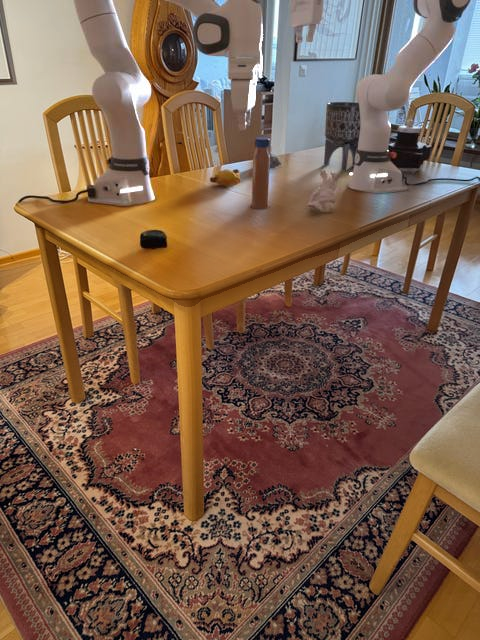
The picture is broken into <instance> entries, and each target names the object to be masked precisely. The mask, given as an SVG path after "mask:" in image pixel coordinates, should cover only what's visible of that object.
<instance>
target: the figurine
mask: <svg viewBox="0 0 480 640" xmlns="http://www.w3.org/2000/svg"><path fill="white" fill-rule="evenodd" d="M319 175H320V178H321V179H322V180H323V181H322V182H323V183H322V186H319V187H316V188H315V189H314V190H313V192H312V194H311V195H310V199H309V202H307V204H306V206H305V207H306V209H310V210H311V211H312V210H316V211H320V212H321V213H331V212H332V211H331V208H332V206H333V205H332V204H334V203H336V200H337V193H336V190H337V179H338V177H337V176H338V175H336V173H335V172H334V171H333V170H332V169H330V175H331V178H328V172H327V171H326V170H325V169H323V168H321V170H320V173H319Z"/></svg>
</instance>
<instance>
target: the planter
mask: <svg viewBox="0 0 480 640" xmlns="http://www.w3.org/2000/svg"><path fill="white" fill-rule="evenodd" d="M324 125H325V126H324V139H325V144H324V156H323V157H324V158H323V165H325V166H328V165H330V163H331V158H332V156H333V154H334V153H335V151H336V150H337V149H340V148H341V150H342V153H341V166H340V170H341V172H345V171H347V167H348V166H347V165H348V159H349V152H350V154H351V157H352V158H351V159H352V160H351V161H352V166H353V167H354V166H355V155H356V149H357V148H358V142H359V135H360V109H359V102H353V101H333V102H327V103H326V109H325V124H324Z"/></svg>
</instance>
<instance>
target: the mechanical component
mask: <svg viewBox="0 0 480 640" xmlns="http://www.w3.org/2000/svg"><path fill="white" fill-rule="evenodd" d="M414 124H415V119H407V121H406V125H399V126H398V127H397V133H396V139H395V142H393V143H392V142H391V143H389V145H388V151H390V152H395V154H397V156H396V157H395V158H392V157H390V161H391V162H392V163H393V164H394V165H395V166H396V167H397V168H398V169H399V170H400V171H401V172H410V174H415V173H416V171H419V170H420V169H421V168H423V166H424V162H425V161H428V160H430V157H431V154H432V148H433V146H432V145H429V144H427V143H425V142H420V141H419V137H420V133H421V129H422V128H421V127H420V126H416V125H414Z"/></svg>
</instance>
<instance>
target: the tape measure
mask: <svg viewBox="0 0 480 640" xmlns="http://www.w3.org/2000/svg"><path fill="white" fill-rule="evenodd" d="M167 236H168V235H167V234H166V232H165V231H164V230H161V229H147V230H144V231H143V232H141V233H140V235H139V240H140V241H139V245H140V246H139V247H141V248H142V249H146V250H157V249H167V248H168V240H167V239H168V237H167Z"/></svg>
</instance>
